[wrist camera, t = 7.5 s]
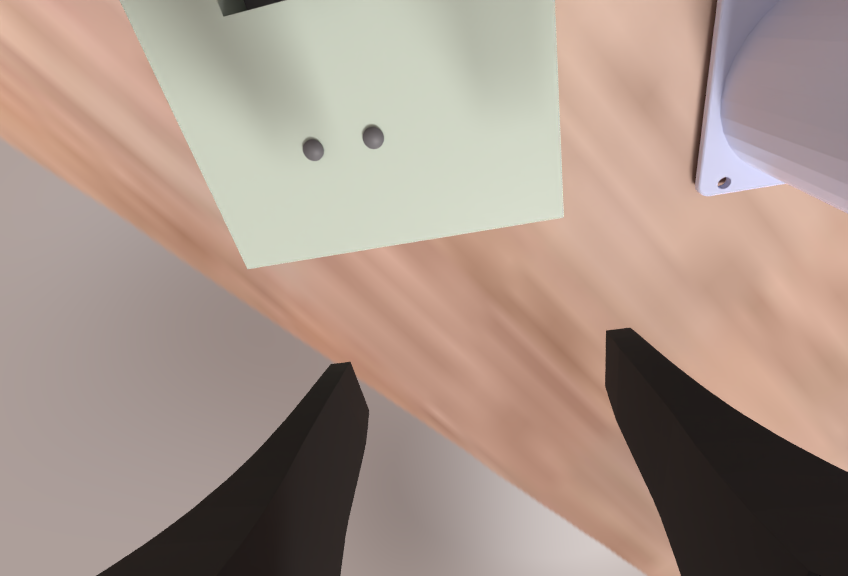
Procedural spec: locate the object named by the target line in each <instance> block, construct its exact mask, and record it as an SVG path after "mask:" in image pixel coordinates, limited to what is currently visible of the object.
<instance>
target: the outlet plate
mask: <svg viewBox="0 0 848 576" xmlns="http://www.w3.org/2000/svg"><path fill="white" fill-rule="evenodd" d="M120 2H121V4H122V6H123V8H124V10H125V13H126V15H127V17H128V19H129V21H130V23H131V25H132V27H133V29H134V31H135V34H136V36H137V38H138V40H139V42H140V44H141V46H142V48H143V50H144V53H145V55H146V57H147V59H148V61H149V63H150V65H151V67H152V69H153V71H154V74H155V76H156V78H157V80H158V82H159V84H160V86H161V88H162V90H163V92H164V95H165V97H166V99H167V101H168V103H169V105H170V107H171V109H172V111H173V113H174V116H175V118H176V120H177V122H178V124H179V126H180V128H181V130H182V132H183V134H184V137H185V139H186V141H187V143H188V145H189V147H190V149H191V151H192V153H193V155H194V158H195V160H196V162H197V164H198V166H199V168H200V170H201V172H202V174H203V177H204V179H205V181H206V183H207V185H208V187H209V189H210V191H211V193H212V195H213V198H214V200H215V202H216V204H217V206H218V208H219V210H220V212H221V214H222V216H223V219H224V221H225V223H226V225H227V227H228V229H229V231H230V233H231V235H232V237H233V240H234V242H235V244H236V246H237V248H238V250H239V252H240V254H241V256H242V258H243V261H244V263H245V265H246V267H247V269H252V268H258V267H264V266H270V265H276V264H282V263H288V262H294V261H301V260H307V259H313V258H319V257H325V256H331V255H337V254H343V253H350V252H356V251H362V250H368V249H374V248H380V247H386V246H392V245H398V244H405V243H411V242H417V241H423V240H429V239H435V238H441V237H447V236H454V235H460V234H466V233H472V232H478V231H484V230H490V229H496V228H502V227H509V226H515V225H521V224H527V223H533V222H539V221H545V220H551V219H558V218H564V210H563V186H562V162H561V138H560V114H559V89H558V65H557V41H556V17H555V0H120Z"/></svg>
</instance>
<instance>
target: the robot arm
mask: <svg viewBox="0 0 848 576" xmlns="http://www.w3.org/2000/svg"><path fill="white" fill-rule="evenodd" d="M724 177H726V181H725V183H724V184H722V185H720V186H718V182H719V181H720V180H721V179H722V178H724ZM780 184H788V185H790V186H792V187H794V188H797V189H799V190H801V191H803V192H805V193H807V194H809V195H811V196H813V197H815V198H817V199H819V200H821V201H823V202H825V203H827V204H829V205H831V206H833V207H835V208H838V209H840V210H842V211H844V212H846V213H848V0H717V8H716V16H715V25H714V33H713V41H712V49H711V58H710V66H709V74H708V82H707V91H706V99H705V107H704V115H703V124H702V132H701V140H700V148H699V157H698V165H697V173H696V181H695V189H696V190H697V192H699V193H700V194H702V195H704V196H713V195H719V194H725V193H731V192H737V191H744V190H750V189H756V188H762V187H768V186H774V185H780ZM605 387H606V390H607V393H608V396H609V400H610V403H611V406H612V409H613V412H614V415H615V418H616V421H617V423H618V425H619V427H620V429H621V432H622V434H623V436H624V438H625V440H626V442H627V445H628V447H629V449H630V451H631V453H632V455H633V457H634V460H635V462H636V464H637V466H638V468H639V470H640V472H641V474H642V477H643V479H644V481H645V483H646V485H647V487H648V489H649V492H650V494H651V496H652V498H653V500H654V503H655V505H656V507H657V510H658V512H659V515H660V517H661V520H662V523H663V525H664V528H665V531H666V534H667V537H668V539H669V542H670V545H671V548H672V550H673V553H674V556H675V559H676V562H677V565H678V568H679V571H680V574H681V576H848V472H846V471H844V470H842V469H840V468H838V467H836V466H834V465H832V464H830V463H828V462H826V461H824V460H822V459H821V458H819V457H817V456H815V455H813V454H811V453H809V452H807V451H805V450H804V449H802V448H800V447H798V446H796V445H794V444H792V443H791V442H789V441H787V440H785V439H783V438H782V437H780V436H778V435H776V434H775V433H773V432H771V431H770V430H768V429H766V428H765V427H763V426H761V425H760V424H758V423H756V422H755V421H753V420H751V419H750V418H748V417H747V416H745V415H743V414H742V413H740V412H739V411H737V410H736V409H734V408H733V407H731V406H730V405H728V404H727V403H725V402H724V401H722V400H721V399H720V398H718V397H717V396H715V395H714V394H712V393H711V392H710V391H708V390H707V389H706V388H704V387H703V386H701V385H700V384H699V383H697V382H696V381H695V380H694V379H692V378H691V377H690V376H688V375H687V374H686V373H685V372H683V371H682V370H681V369H679V368H678V367H677V366H676V365H674V364H673V363H672V362H671V361H669V360H668V359H667V358H666V357H665V356H663V355H662V354H661V353H660V352H659V351H657V350H656V349H655V348H654V347H653V346H651V345H650V344H649V343H648V342H647V341H646V340H644V339H643V338H642V337H641V336H640V335H639V334H637V333H636V332H635V331H634V330H632V329H631V328H624V329H616V330H607V331H606V372H605ZM368 418H369V409H368V407H367V404H366V401H365V398H364V396H363V393H362V391H361V388H360V385H359V383H358V380H357V378H356V375H355V372H354V370H353V367H352V365H351V362H345V363H337V364H331V365H330V366H329V367H328V368H327V370H326V371H325V372H324V373H323V374H322V376H321V377H320V378H319V379H318V381H317V382H316V383H315V384H314V386H313V387H312V388H311V389H310V391H309V392H308V393H307V394H306V396H305V397H304V398H303V399H302V400H301V402H300V403H299V404H298V405H297V407H296V408H295V409H294V410H293V411H292V413H291V414H290V415H289V416H288V417H287V419H286V420H285V421H284V422H283V423H282V424H281V425H280V426H279V428H278V429H277V430H276V431H275V432H274V433H273V434H272V435H271V436H270V438H269V439H268V440H267V441H266V442H265V443H264V444H263V445H262V446H261V447H260V448H259V449H258V450H257V451H256V452H255V454H253V456H252V457H250V458H249V459H248V460H247V461H246V462H245V463H244V464H243V465H242V466H241V467H240V468H239V469H238V470H237V471H236V472H235V473H234V474H233V475H231V476H230V477H229V478H228V479H227V480H226V481H225V482H224V483H222V484H221V485H220V486H219V487H218V488H217V489H215V490H214V491H213V492H212V493H211V494H209V495H208V496H207V497H206V498H205V499H204V500H202V501H201V502H200V503H199V504H198V505H196V506H195V507H194V508H193V509H191V510H190V511H189V512H188V513H186V514H185V515H184V516H182V517H181V518H180V519H178V520H177V521H176V522H175V523H173V524H172V525H171V526H169V527H168V528H166V529H165V530H164V531H162V532H161V533H160V534H158V535H157V536H156V537H154V538H153V539H151V540H150V541H148V542H147V543H146V544H144V545H143V546H141V547H140V548H138V549H137V550H135V551H134V552H132V553H131V554H129V555H127V556H126V557H124V558H123V559H122V560H120V561H118V562H117V563H115V564H114V565H112V566H111V567H109V568H108V569H107V570H105V571H103V572H101V573H100V574H98V575H97V576H340V574H341V565H342V559H343V551H344V543H345V536H346V530H347V525H348V520H349V515H350V511H351V507H352V502H353V498H354V494H355V489H356V485H357V481H358V477H359V472H360V468H361V463H362V459H363V454H364V450H365V445H366V438H367V429H368Z"/></svg>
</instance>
